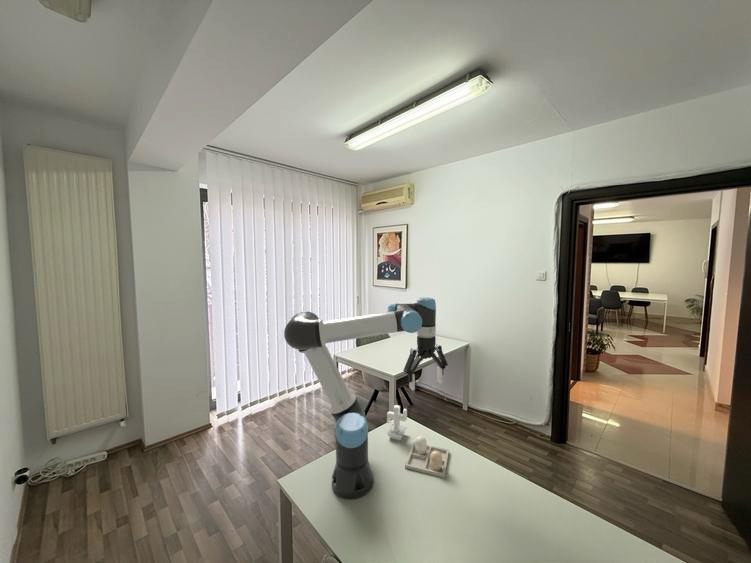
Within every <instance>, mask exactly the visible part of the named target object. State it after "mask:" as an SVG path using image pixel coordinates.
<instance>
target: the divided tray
mask: <svg viewBox="0 0 751 563" xmlns="http://www.w3.org/2000/svg"><path fill="white" fill-rule="evenodd" d="M411 445H412V446H411V448H410V451H409V453H408V455H407V459H406V461H405V464H404V468H405V469H407V470H411V471H416V472H419V473H424V474H427V475H431V476H436V477H440V478H445V476H446V470H447V466H448V459H449V453H450V449H448V448H443V447H438V446H434V445H430V444H429V445H428V444H426V455H425V456H423V455H419V454H416V453H415V441H413V442H412V444H411ZM433 451H439V452H440V453H441V455H442V471H441V472H438V471H434V470H431V469H430V454H431V453H432V452H433Z"/></svg>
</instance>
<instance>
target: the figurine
mask: <svg viewBox="0 0 751 563" xmlns="http://www.w3.org/2000/svg"><path fill="white" fill-rule="evenodd" d="M391 419H393V424H391V425H390V423H391ZM407 420H408V409H407V408H403V411H402V413H401V405H398V404H395V405H393V411H387V413H386V423H387V424H389V425H390V426H389V428H388V430H387V431H386V435H387V436H388V437H389V438H390V439H393V440H396V441H401V440H402V439H403V437H404V435H405V433H406V431H407V427H405V426H401V425H400V424H401V422H406V421H407Z"/></svg>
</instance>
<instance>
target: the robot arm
mask: <svg viewBox="0 0 751 563" xmlns="http://www.w3.org/2000/svg"><path fill="white" fill-rule="evenodd" d="M416 300H417V301H416V302H415V303H414V302H413V303H396V302H395V303H391V304H388V306H387V312H381V313H372V314H365V315H358V316H353V317H345V318H339V319H331V320H322V318H321V319H320V318H319V316H318V315H317V314H316V313H314V312H313V311H309V310H304V311H299V312H297V313H296V314H294V315H293V316H292V317H291V319H290V320H289V321H288V322H287V323H286V326H285V327H284V331H283V336H284V340H285V342H286V344H288V345H289V346H290V348H293V349H295V350H297V351H298V352H299V353H300V354H304V355H305V357H306V358H307V361H308V364H310V366H311V369H312V370H313V373H314V374H315V376H316V378H317V380H318V382H319V383H320V387H322V389H323V391H324V394H325V396H326V397H327V399H328V402H329V403H330V408H329V412H330V413H331V416H332V417H333V419H334V421H335V428H334V435H335V466H334V469H333V472H332V475H331V489H332V491H333V492H334V494H336V495H337V496H338V497H340V498H343V499H347V500H348V499H349V500H352V499H359V498H361V497H363V496H366V494H368V493H369V492H370V491H371V489H372V488H373V484H374V474H373V470H372V467H371V464H370V462H369V439H368V438H369V425H368V421H367V419H366V413H365V407H364V405H363V404H362V403H361V401H360V400H359V399H358V397H357V396H356V395H355V394H354V393H351V392H350V390H349V388H348V386H347V384H346V382H345V380H344V378H343V377H342V375H341V372H340V371H339V369H338V366H337V365H336V362H335V361H334V358H333V357H332V355H331V353H330V350H329V349H328V347H327V344H329V343H330V344H331V343H335V342H342V341H348V340H354V339H356V340H357V339H361V338H368V337H375V336H381V335H386V334H393V333H401V332H407V333H409V334H414V333H416V334H417V337H416V344H417V345H416V346H417V348H410V350H409V352H410V353H409V356H408V359H407V360H406V363H405V365H404V368H403V373H405V374H406V375H407V380H408V382H409V389H410V390H412V391H415V389H416V388H415V384H416V383H415V375H416V374H414V373H415V371H416V369H417V368H418V366H419V365H420V363H421V362H422V361H423V360H426V359H432V360H433V361H434V363H435V364H436V365H437V366H436V382H437V383H438V384H440V385H442V384H443V376H444V370H445V369H446V367H448V365H449V363H448V362H447V359H446V357H445V355H444V352H443V348H442V345H441V344H437V343H436V340H437V338H436V334H437V332H436V329H437V328H436V323H437V322H436V321H437V318H436V317H437V303H436V299H435V298H433V297H418V298H417V299H416ZM435 352H436V353H437V355H438V356H437V355H436V353H435Z"/></svg>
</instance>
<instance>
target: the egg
mask: <svg viewBox="0 0 751 563" xmlns="http://www.w3.org/2000/svg"><path fill="white" fill-rule="evenodd" d="M430 469H431V470H434V471H438V472H441V471H442V455H441V453H440V452H439V451H433V452H432V453H431V454H430Z"/></svg>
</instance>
